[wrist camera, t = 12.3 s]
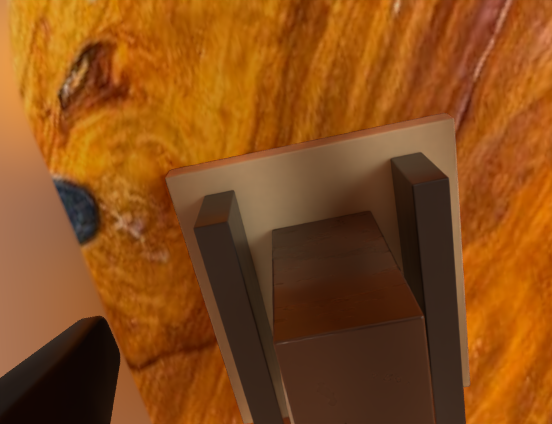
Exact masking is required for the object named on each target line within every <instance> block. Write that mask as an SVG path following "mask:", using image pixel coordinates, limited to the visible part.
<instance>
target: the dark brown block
mask: <svg viewBox="0 0 552 424" xmlns="http://www.w3.org/2000/svg"><path fill="white" fill-rule="evenodd" d="M272 310H273V345H274V349H275V353H276V356H277V360H278V364H279V368H280V373H281V379H282V384H283V389H284V395H285V399H286V404H287V409H288V413H289V418H290V421H291V424H435V416H434V406H433V397H432V387H431V377H430V368H429V358H428V348H427V338H426V329H425V319H424V315H423V313H422V311H421V309H420V307H419V305H418V303H417V301H416V299H415V297H414V295H413V293H412V291H411V289H410V287H409V285H408V283H407V281H406V279H405V278H404V276H403V274H402V272H401V270H400V268H399V266H398V264H397V262H396V260H395V258H394V256H393V254H392V252H391V250H390V248H389V246H388V244H387V242H386V240H385V238H384V236H383V234H382V232H381V230H380V228H379V226H378V224H377V222H376V220H375V218H374V216H373V214H372V212H371V211H364V212H359V213H354V214H349V215H344V216H339V217H334V218H328V219H323V220H318V221H313V222H308V223H303V224H298V225H293V226H288V227H283V228H278V229H273V230H272Z"/></svg>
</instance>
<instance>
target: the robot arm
mask: <svg viewBox="0 0 552 424" xmlns="http://www.w3.org/2000/svg"><path fill="white" fill-rule="evenodd" d="M119 366H120V352H119V348H118V346H117V344H116V341H115V339H114V337H113V334H112V332H111V329H110V327H109V325H108V323H107V321H106V319H105V318H104V317H102V316H95V317H90V318H84V319H81V320H79V321H77V322H76V323H75V324H73V325H72V326H71V327H69V328H68V329H66V330H65V331H64V332H62V333H61V334H60V335H58V336H57V337H56V338H54V339H53V340H51V341H50V342H49V343H47V344H46V345H45V346H43V347H42V348H40V349H39V350H38V351H36V352H35V353H34V354H32V355H31V356H30V357H28V358H27V359H25V360H24V361H23V362H21V363H20V364H19V365H17V366H16V367H15V368H13V369H12V370H10V371H9V372H8V373H6V374H5V375H4V376H2V377H1V378H0V424H110V422H111V416H112V410H113V403H114V397H115V391H116V385H117V379H118V372H119Z"/></svg>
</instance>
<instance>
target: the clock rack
mask: <svg viewBox="0 0 552 424" xmlns="http://www.w3.org/2000/svg"><path fill="white" fill-rule="evenodd" d="M165 181H166V184H167V187H168V190H169V193H170V196H171V199H172V202H173V205H174V209H175V212H176V215H177V218H178V221H179V224H180V227H181V230H182V233H183V236H184V240H185V243H186V246H187V249H188V252H189V255H190V258H191V261H192V264H193V267H194V271H195V274H196V277H197V280H198V283H199V286H200V289H201V292H202V295H203V299H204V302H205V305H206V308H207V311H208V314H209V317H210V320H211V323H212V326H213V330H214V333H215V336H216V339H217V342H218V345H219V348H220V351H221V354H222V357H223V361H224V364H225V367H226V370H227V373H228V376H229V379H230V382H231V385H232V388H233V392H234V395H235V398H236V401H237V404H238V407H239V410H240V413H241V416H242V419H243V422H244V424H247V423H254V424H291V421H290V418H289V413H288V409H287V404H286V399H285V395H284V389H283V384H282V379H281V373H280V368H279V364H278V360H277V356H276V353H275V349H274V345H273V310H272V230H273V229H278V228H283V227H288V226H293V225H298V224H303V223H308V222H313V221H318V220H323V219H328V218H334V217H339V216H344V215H349V214H354V213H359V212H364V211H371V212H372V214H373V216H374V218H375V220H376V222H377V224H378V226H379V228H380V230H381V232H382V234H383V236H384V238H385V240H386V242H387V244H388V246H389V248H390V250H391V252H392V254H393V256H394V258H395V260H396V262H397V264H398V266H399V268H400V270H401V272H402V274H403V276H404V278H405V279H406V281H407V283H408V285H409V287H410V289H411V291H412V293H413V295H414V297H415V299H416V301H417V303H418V305H419V307H420V309H421V311H422V313H423V315H424V319H425V329H426V338H427V348H428V358H429V368H430V377H431V387H432V397H433V406H434V416H435V424H466V420H465V405H464V390H463V387H468V386H470V375H469V358H468V341H467V324H466V308H465V291H464V274H463V257H462V241H461V224H460V207H459V190H458V173H457V157H456V140H455V123H454V118H453V117H451V116H449V115H448V114H446V113H442V114H437V115H432V116H428V117H423V118H418V119H413V120H408V121H404V122H399V123H394V124H389V125H384V126H380V127H375V128H370V129H365V130H360V131H356V132H351V133H346V134H341V135H336V136H332V137H327V138H322V139H317V140H312V141H308V142H303V143H298V144H293V145H288V146H284V147H279V148H274V149H269V150H265V151H260V152H255V153H250V154H245V155H241V156H236V157H231V158H226V159H221V160H217V161H212V162H207V163H202V164H197V165H193V166H188V167H183V168H178V169H173V170H170V171H169V173H168V174H167V176H166V177H165Z"/></svg>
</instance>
